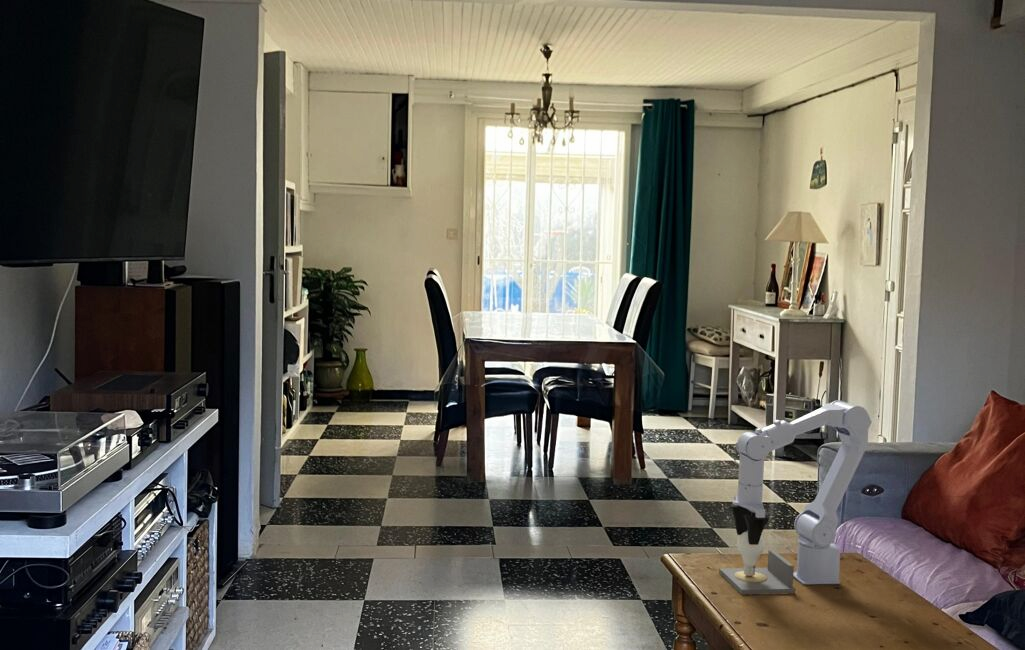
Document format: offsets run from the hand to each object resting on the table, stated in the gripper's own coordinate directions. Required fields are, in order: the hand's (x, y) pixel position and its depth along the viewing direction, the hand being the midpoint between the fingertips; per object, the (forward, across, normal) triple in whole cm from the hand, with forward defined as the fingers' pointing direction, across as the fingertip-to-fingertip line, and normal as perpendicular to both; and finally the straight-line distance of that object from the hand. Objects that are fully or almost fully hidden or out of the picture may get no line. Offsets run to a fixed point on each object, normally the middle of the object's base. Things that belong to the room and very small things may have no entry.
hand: (747, 539), depth 234 cm
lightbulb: (+9, 0, +1) cm, 9 cm away
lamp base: (+10, +1, +2) cm, 11 cm away
